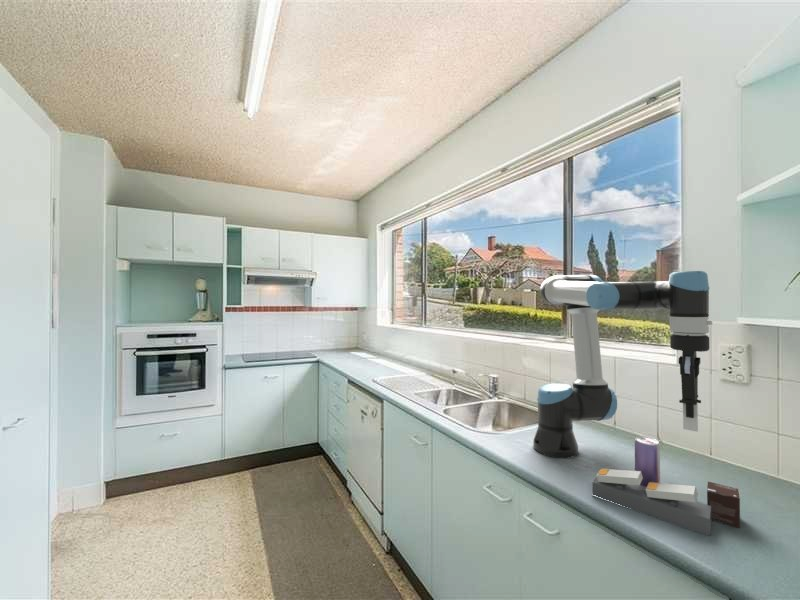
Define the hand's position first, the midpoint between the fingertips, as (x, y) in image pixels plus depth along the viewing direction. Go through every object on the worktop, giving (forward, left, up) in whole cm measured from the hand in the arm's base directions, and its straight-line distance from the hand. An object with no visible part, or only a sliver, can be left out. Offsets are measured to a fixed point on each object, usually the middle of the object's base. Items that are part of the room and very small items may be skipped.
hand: (690, 429), depth 88 cm
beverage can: (-10, +9, -23) cm, 27 cm away
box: (+6, +8, -24) cm, 25 cm away
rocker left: (-15, 0, -18) cm, 23 cm away
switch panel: (-9, 0, -23) cm, 25 cm away
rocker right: (-4, 0, -18) cm, 18 cm away
